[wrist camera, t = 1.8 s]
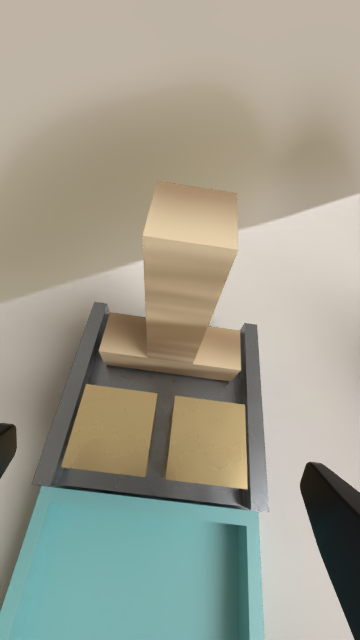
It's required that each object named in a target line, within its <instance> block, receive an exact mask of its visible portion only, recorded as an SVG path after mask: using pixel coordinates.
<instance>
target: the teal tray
mask: <svg viewBox="0 0 360 640" xmlns="http://www.w3.org/2000/svg"><path fill="white" fill-rule="evenodd" d="M0 640H264V621H263V599H262V578H261V557H260V536H259V514H258V511H255V510H250V509H248V508H245V507H243V506H235V505H227V504H218V503H210V502H201V501H193V500H184V499H176V498H167V497H159V496H150V495H142V494H133V493H125V492H117V491H108V490H100V489H91V488H83V487H74V486H66V485H55V486H41V489H40V492H39V495H38V498H37V501H36V504H35V507H34V510H33V513H32V517H31V520H30V523H29V526H28V529H27V532H26V535H25V538H24V541H23V544H22V547H21V550H20V553H19V556H18V559H17V563H16V566H15V569H14V572H13V575H12V578H11V581H10V584H9V587H8V590H7V593H6V596H5V599H4V602H3V605H2V608H1V612H0Z"/></svg>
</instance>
